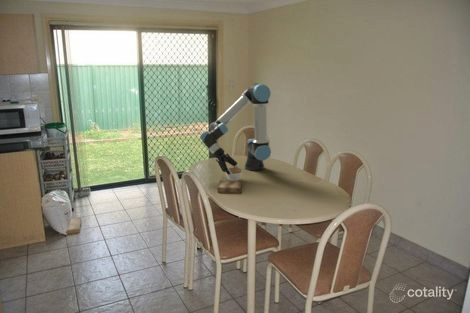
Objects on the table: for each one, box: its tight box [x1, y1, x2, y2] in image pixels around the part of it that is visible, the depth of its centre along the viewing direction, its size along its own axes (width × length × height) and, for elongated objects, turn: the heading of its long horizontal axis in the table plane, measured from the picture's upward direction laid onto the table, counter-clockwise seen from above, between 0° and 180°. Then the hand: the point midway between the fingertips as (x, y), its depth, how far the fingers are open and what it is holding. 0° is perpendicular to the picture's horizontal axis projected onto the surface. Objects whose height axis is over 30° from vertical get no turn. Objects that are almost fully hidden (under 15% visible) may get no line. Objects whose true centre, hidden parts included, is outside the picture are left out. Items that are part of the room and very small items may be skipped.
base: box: [217, 180, 242, 194], centre depth 226 cm, size 14×14×3 cm
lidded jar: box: [225, 166, 242, 181], centre depth 242 cm, size 11×11×9 cm
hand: (237, 175), depth 241 cm, fingers closed on lidded jar, 11 cm apart
